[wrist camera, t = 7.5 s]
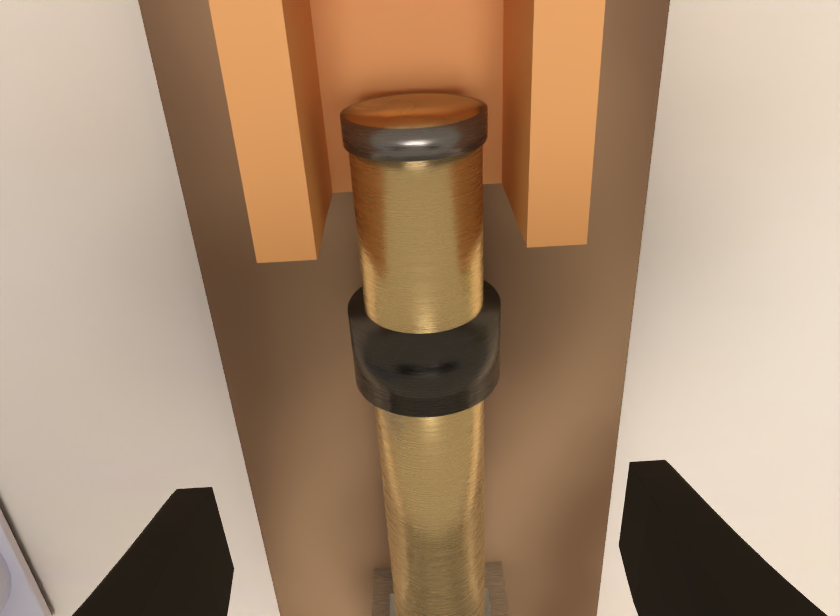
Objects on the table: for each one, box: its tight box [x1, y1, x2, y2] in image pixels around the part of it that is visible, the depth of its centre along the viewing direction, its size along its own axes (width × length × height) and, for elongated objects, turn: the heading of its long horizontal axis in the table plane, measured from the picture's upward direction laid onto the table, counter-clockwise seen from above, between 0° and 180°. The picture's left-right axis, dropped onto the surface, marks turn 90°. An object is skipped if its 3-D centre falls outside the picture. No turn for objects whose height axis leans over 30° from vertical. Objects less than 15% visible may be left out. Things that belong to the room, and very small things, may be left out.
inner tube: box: [340, 93, 501, 616], centre depth 18 cm, size 4×16×4 cm, turn 3°
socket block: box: [208, 0, 606, 263], centre depth 14 cm, size 7×6×4 cm
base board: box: [138, 0, 670, 616], centre depth 22 cm, size 12×27×1 cm, turn 3°
